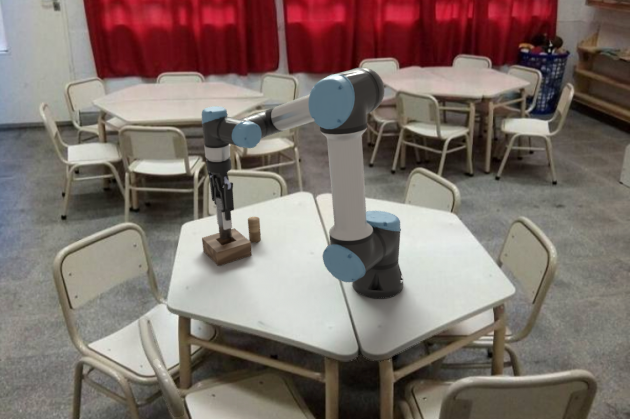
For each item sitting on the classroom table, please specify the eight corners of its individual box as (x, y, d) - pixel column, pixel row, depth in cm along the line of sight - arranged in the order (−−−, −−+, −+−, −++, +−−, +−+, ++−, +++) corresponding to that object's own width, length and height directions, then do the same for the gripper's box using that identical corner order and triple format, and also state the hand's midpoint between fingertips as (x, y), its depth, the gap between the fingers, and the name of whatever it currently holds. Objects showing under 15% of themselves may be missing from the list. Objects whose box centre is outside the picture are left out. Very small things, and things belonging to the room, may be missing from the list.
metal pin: (233, 237, 180) (230, 198, 174) (222, 240, 178) (218, 201, 172) (228, 232, 183) (225, 194, 177) (217, 235, 181) (213, 197, 175)
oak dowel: (262, 240, 191) (261, 219, 187) (252, 243, 189) (251, 222, 185) (257, 235, 194) (256, 215, 190) (247, 239, 192) (245, 218, 188)
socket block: (251, 255, 182) (250, 242, 179) (218, 266, 176) (216, 252, 173) (235, 241, 191) (234, 228, 188) (203, 250, 185) (201, 237, 183)
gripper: (241, 163, 164) (247, 232, 174) (217, 148, 177) (224, 213, 187) (218, 168, 160) (225, 239, 170) (195, 152, 173) (203, 219, 183)
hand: (224, 225), depth 179 cm, fingers closed on metal pin, 4 cm apart
